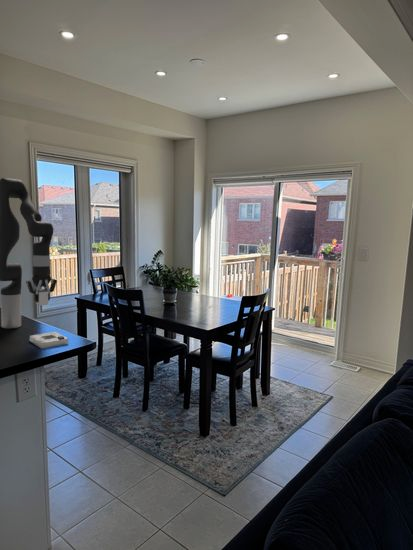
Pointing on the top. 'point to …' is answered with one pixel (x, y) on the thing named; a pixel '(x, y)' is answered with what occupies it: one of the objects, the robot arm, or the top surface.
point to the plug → (43, 297)
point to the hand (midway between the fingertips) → (42, 301)
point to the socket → (48, 340)
